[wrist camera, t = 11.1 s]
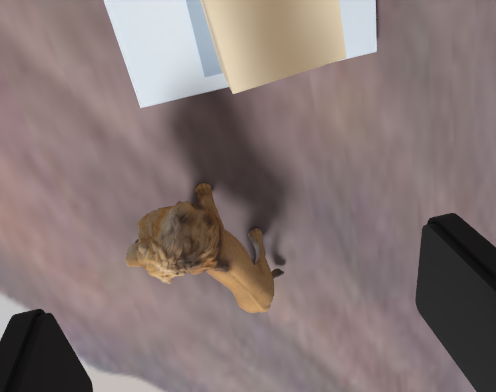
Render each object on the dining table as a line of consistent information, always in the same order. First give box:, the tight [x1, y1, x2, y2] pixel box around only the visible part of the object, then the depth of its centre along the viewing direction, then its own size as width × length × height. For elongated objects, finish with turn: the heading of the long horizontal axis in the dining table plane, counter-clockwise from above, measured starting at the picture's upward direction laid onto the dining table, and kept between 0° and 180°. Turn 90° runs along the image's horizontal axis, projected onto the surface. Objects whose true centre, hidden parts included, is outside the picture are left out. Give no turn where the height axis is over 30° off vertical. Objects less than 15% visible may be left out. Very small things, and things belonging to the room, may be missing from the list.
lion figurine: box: [126, 183, 284, 313], centre depth 28 cm, size 15×5×9 cm, turn 47°
